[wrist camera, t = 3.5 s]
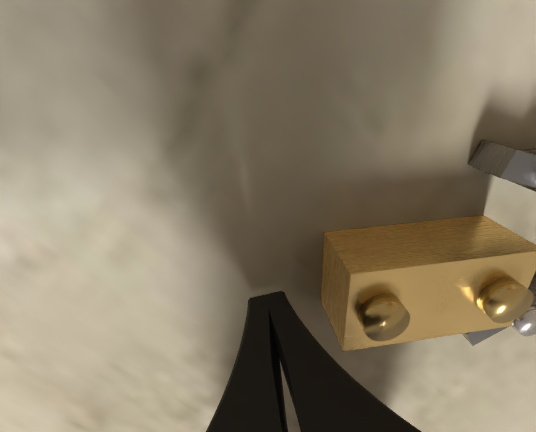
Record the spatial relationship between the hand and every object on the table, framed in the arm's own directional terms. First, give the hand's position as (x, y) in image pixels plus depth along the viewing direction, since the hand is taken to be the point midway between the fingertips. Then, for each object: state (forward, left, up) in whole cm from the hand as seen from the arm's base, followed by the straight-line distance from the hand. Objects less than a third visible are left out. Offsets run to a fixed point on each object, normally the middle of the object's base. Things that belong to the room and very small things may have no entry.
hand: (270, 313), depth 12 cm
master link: (+6, 0, -2) cm, 6 cm away
